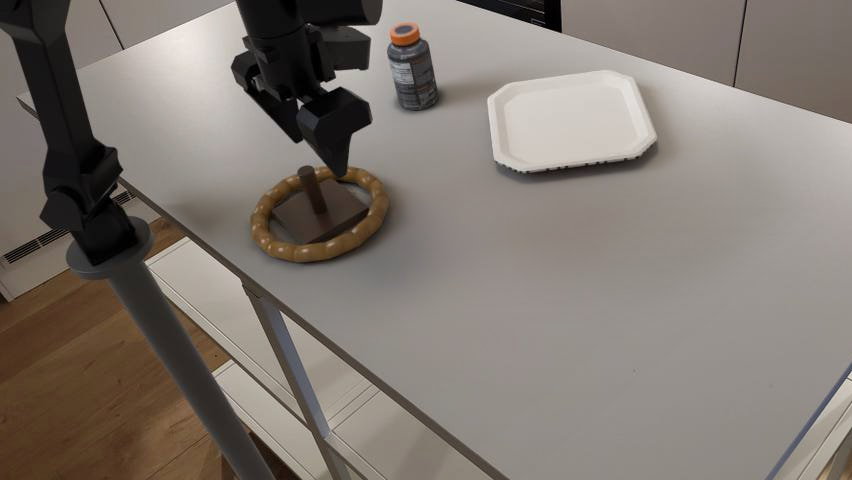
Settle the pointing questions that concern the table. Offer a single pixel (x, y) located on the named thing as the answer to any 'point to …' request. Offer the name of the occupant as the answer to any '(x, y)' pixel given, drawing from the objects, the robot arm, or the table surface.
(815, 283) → the table surface
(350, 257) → the table surface
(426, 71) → the pill bottle
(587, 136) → the plate
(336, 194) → the wooden peg stand
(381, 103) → the table surface
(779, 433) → the table surface
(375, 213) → the ring
